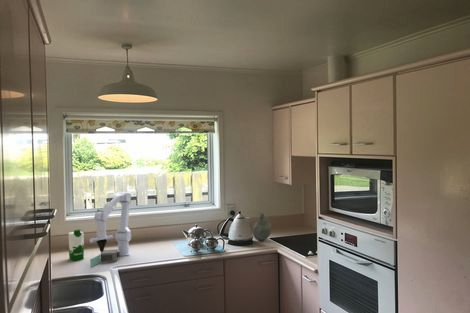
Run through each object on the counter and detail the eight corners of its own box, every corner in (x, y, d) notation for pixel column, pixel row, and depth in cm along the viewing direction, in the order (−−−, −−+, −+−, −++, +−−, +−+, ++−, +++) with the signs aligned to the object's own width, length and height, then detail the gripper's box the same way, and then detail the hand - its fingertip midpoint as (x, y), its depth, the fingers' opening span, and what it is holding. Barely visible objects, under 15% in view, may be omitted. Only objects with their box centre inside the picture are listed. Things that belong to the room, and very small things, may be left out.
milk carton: (72, 262, 247) (71, 231, 247) (67, 258, 254) (66, 229, 253) (85, 259, 253) (85, 229, 252) (80, 256, 260) (80, 227, 259)
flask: (249, 239, 304) (249, 212, 303) (269, 238, 309) (269, 211, 308) (254, 243, 293) (254, 215, 292) (274, 241, 297) (274, 214, 297)
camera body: (102, 258, 254) (102, 250, 254) (120, 257, 256) (120, 249, 256) (100, 262, 246) (100, 253, 246) (118, 261, 248) (118, 252, 248)
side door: (100, 262, 246) (100, 254, 246) (91, 267, 237) (91, 258, 237) (99, 262, 246) (99, 254, 246) (90, 266, 237) (90, 258, 237)
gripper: (109, 227, 249) (110, 247, 250) (87, 231, 240) (88, 252, 240) (114, 229, 244) (114, 250, 245) (91, 233, 234) (92, 254, 235)
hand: (101, 251), depth 242 cm, fingers closed
